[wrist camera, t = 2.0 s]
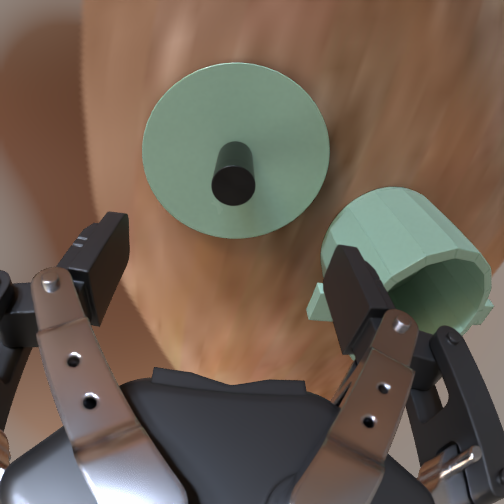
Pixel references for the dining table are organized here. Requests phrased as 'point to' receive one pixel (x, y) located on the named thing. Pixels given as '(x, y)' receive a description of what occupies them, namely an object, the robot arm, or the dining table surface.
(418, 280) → the pot
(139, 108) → the dining table surface
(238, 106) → the lid
